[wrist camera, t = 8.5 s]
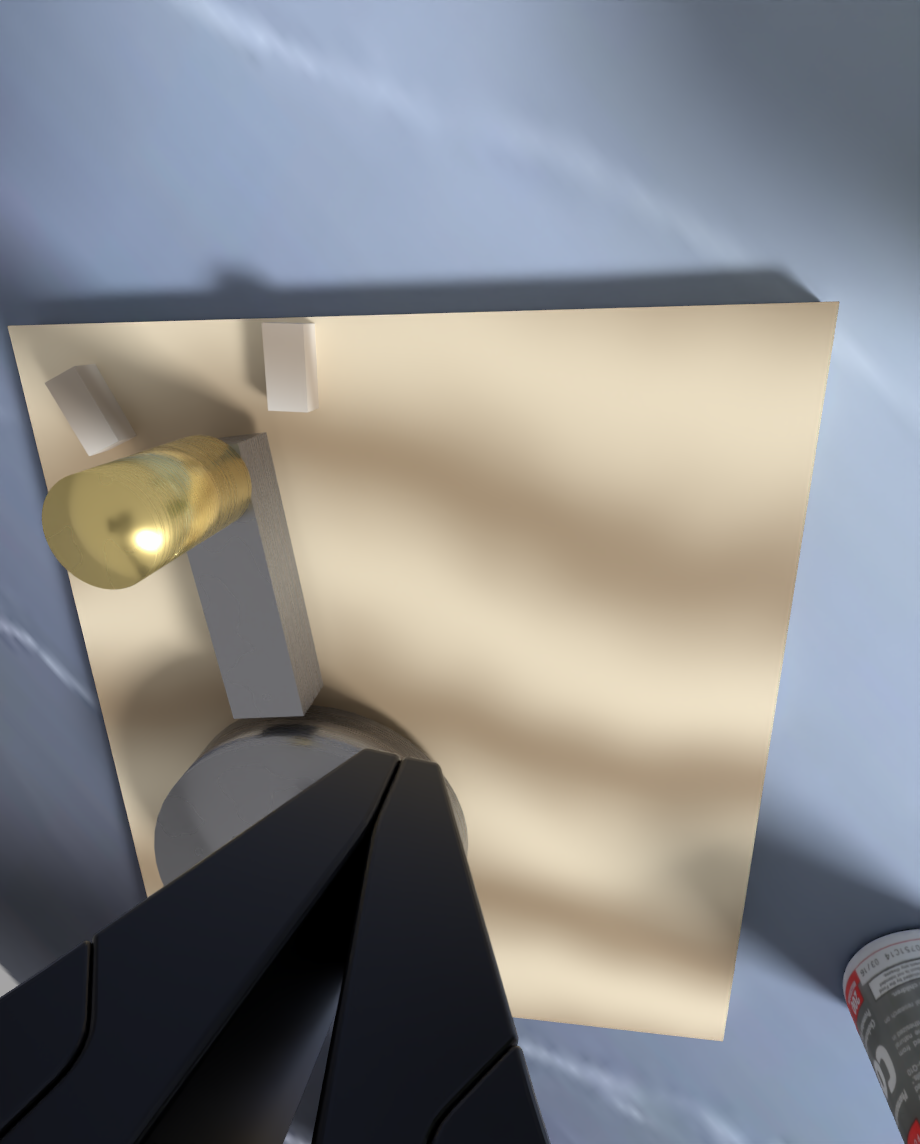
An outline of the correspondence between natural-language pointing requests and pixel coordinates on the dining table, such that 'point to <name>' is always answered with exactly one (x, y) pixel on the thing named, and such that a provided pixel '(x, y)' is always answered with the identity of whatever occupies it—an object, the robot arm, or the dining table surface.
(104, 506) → the lever
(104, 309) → the dining table surface
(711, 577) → the stand board
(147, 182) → the dining table surface
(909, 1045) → the pill bottle
